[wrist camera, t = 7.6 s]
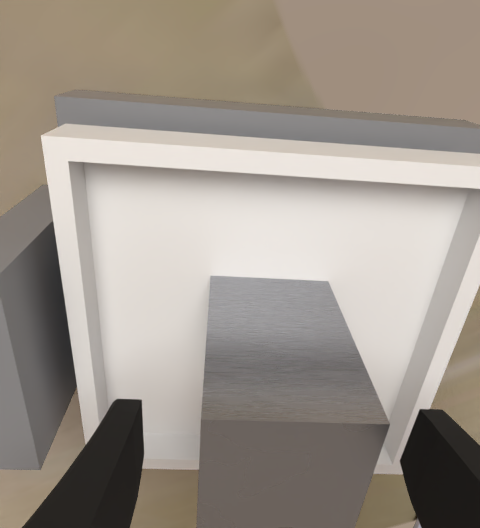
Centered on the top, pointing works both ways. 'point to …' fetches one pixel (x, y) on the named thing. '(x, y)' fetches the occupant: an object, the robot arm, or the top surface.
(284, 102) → the top surface
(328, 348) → the steel block
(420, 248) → the kitchen scale
